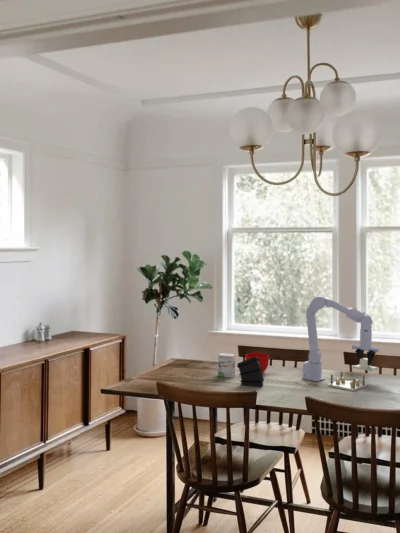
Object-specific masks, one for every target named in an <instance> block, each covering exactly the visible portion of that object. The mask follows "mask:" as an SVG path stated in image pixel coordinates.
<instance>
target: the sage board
mask: <svg viewBox="0 0 400 533" xmlns="http://www.w3.org/2000/svg"><path fill="white" fill-rule="evenodd" d="M352 368H353V369H356V370H361V371H362V370H363V371H368V372H373V371H375V370H378V366H372V364H371V365H368V357H363V358H361V359H360V363H359V364H357V365H356V364H355V365H353V366H352Z"/></svg>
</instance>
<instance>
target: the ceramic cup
mask: <svg viewBox="0 0 400 533" xmlns="http://www.w3.org/2000/svg"><path fill="white" fill-rule="evenodd" d="M255 356H257V357H259V359H258V360H259V362H260V365H261V367H262V374H264V372H266V370H267V369H268V366H269V363H270V362H269V361H270V355H269V354H267V353H263V352H249V353H246V354H245V360H247V359H250V358H252V357H255Z"/></svg>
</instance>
